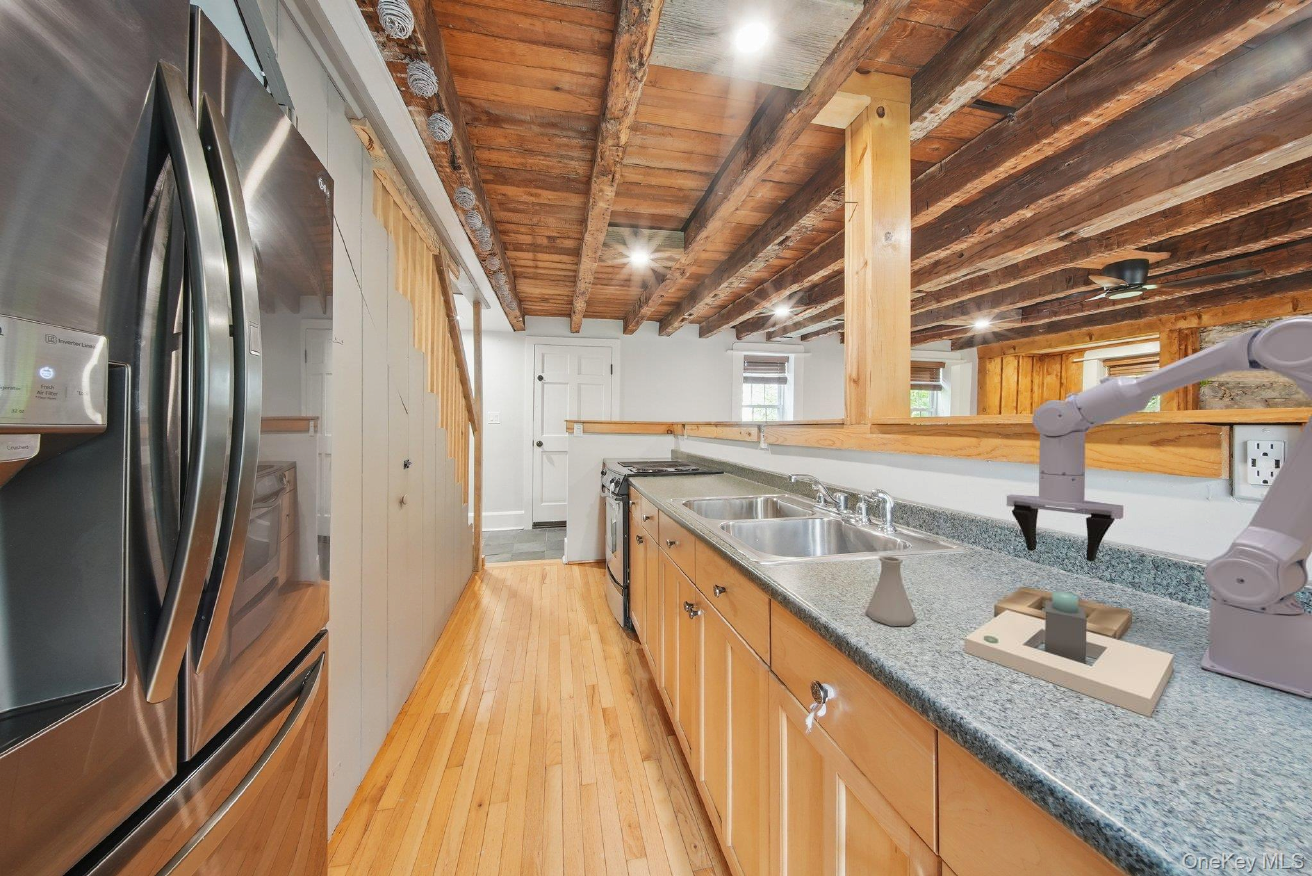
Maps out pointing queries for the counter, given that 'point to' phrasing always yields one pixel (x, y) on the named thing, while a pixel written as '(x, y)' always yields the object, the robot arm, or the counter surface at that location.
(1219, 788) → the counter surface
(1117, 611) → the slotted wooden base
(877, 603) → the flask
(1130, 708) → the port dock
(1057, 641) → the plug
